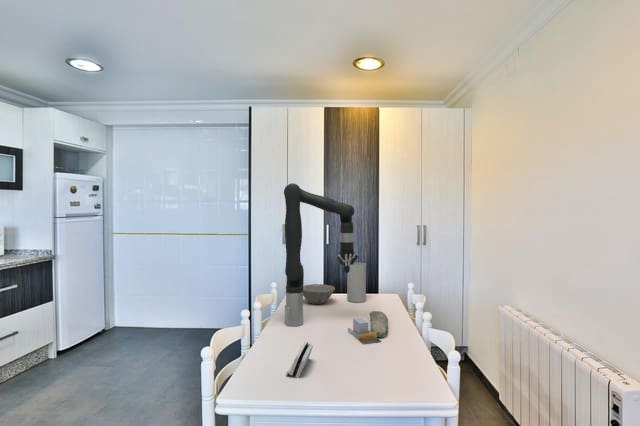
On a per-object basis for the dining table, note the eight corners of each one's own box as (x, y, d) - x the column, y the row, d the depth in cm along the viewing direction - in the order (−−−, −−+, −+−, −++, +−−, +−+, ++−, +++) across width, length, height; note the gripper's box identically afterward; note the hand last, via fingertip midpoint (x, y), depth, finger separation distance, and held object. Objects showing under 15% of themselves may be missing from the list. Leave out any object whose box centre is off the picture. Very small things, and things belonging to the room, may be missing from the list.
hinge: (296, 357, 142) (304, 335, 141) (307, 362, 141) (315, 340, 141) (285, 376, 126) (293, 352, 125) (296, 382, 125) (305, 357, 124)
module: (359, 338, 164) (359, 323, 164) (353, 332, 172) (353, 318, 172) (368, 336, 166) (368, 322, 166) (361, 331, 173) (361, 317, 173)
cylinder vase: (368, 299, 235) (368, 263, 235) (360, 303, 224) (361, 265, 224) (352, 297, 241) (352, 261, 241) (344, 301, 231) (344, 264, 231)
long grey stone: (368, 339, 164) (389, 342, 163) (368, 329, 164) (390, 331, 163) (369, 314, 199) (386, 316, 197) (369, 305, 199) (387, 307, 197)
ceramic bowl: (296, 299, 234) (296, 285, 234) (328, 297, 241) (328, 283, 241) (304, 308, 213) (304, 292, 213) (339, 305, 220) (339, 290, 220)
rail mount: (363, 344, 156) (363, 338, 156) (347, 331, 173) (347, 325, 173) (380, 342, 159) (381, 335, 159) (363, 329, 176) (363, 323, 176)
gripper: (338, 242, 182) (338, 274, 182) (360, 241, 186) (360, 273, 187) (333, 240, 189) (333, 272, 189) (355, 240, 194) (354, 270, 194)
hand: (346, 272), depth 188 cm, fingers closed
